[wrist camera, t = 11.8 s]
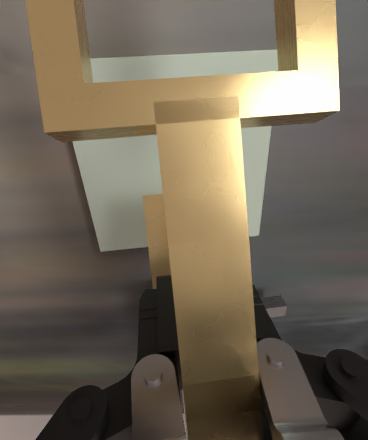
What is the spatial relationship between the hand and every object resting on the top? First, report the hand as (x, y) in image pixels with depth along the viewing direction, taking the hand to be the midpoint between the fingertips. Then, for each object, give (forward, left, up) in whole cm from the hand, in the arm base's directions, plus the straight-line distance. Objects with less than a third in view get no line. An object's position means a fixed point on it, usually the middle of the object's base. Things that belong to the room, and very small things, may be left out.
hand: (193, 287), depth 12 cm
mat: (-3, 0, -9) cm, 9 cm away
